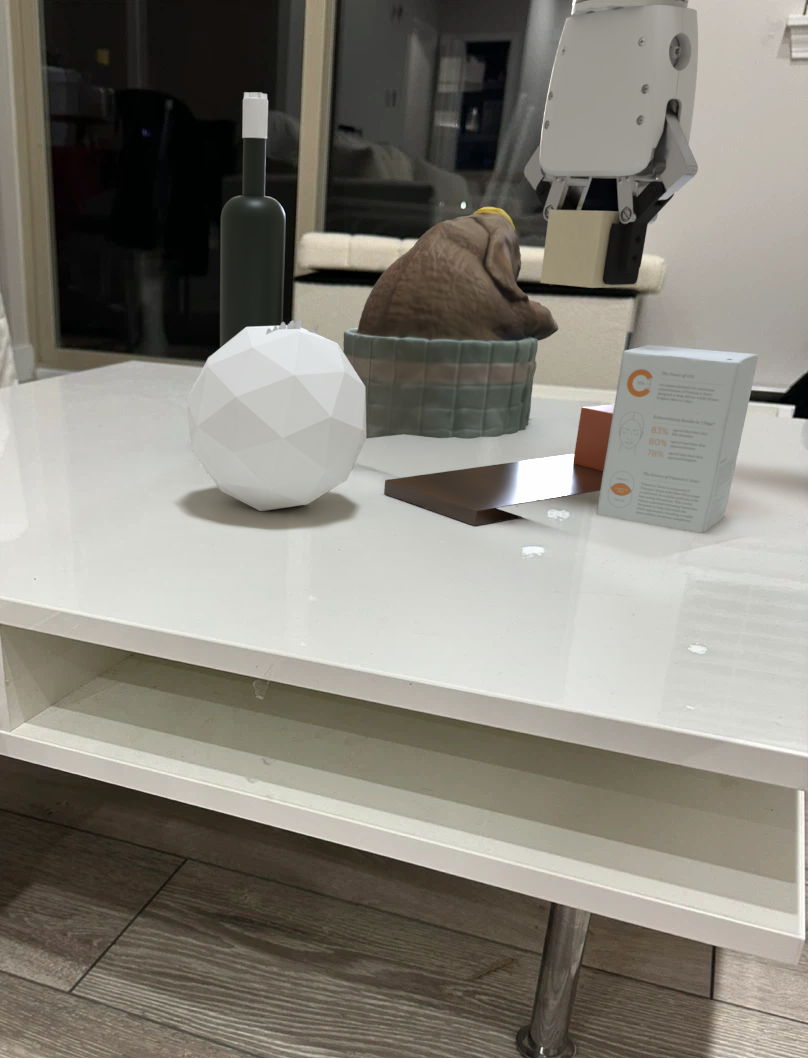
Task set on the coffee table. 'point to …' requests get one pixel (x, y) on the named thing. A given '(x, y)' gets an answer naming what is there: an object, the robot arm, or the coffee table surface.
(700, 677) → the coffee table surface
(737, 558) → the coffee table surface
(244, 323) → the wine bottle
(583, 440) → the terracotta cube
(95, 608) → the coffee table surface
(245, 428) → the geodesic sphere
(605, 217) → the beige block
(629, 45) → the robot arm
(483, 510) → the dark brown board
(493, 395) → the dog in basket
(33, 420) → the coffee table surface
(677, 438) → the small box
